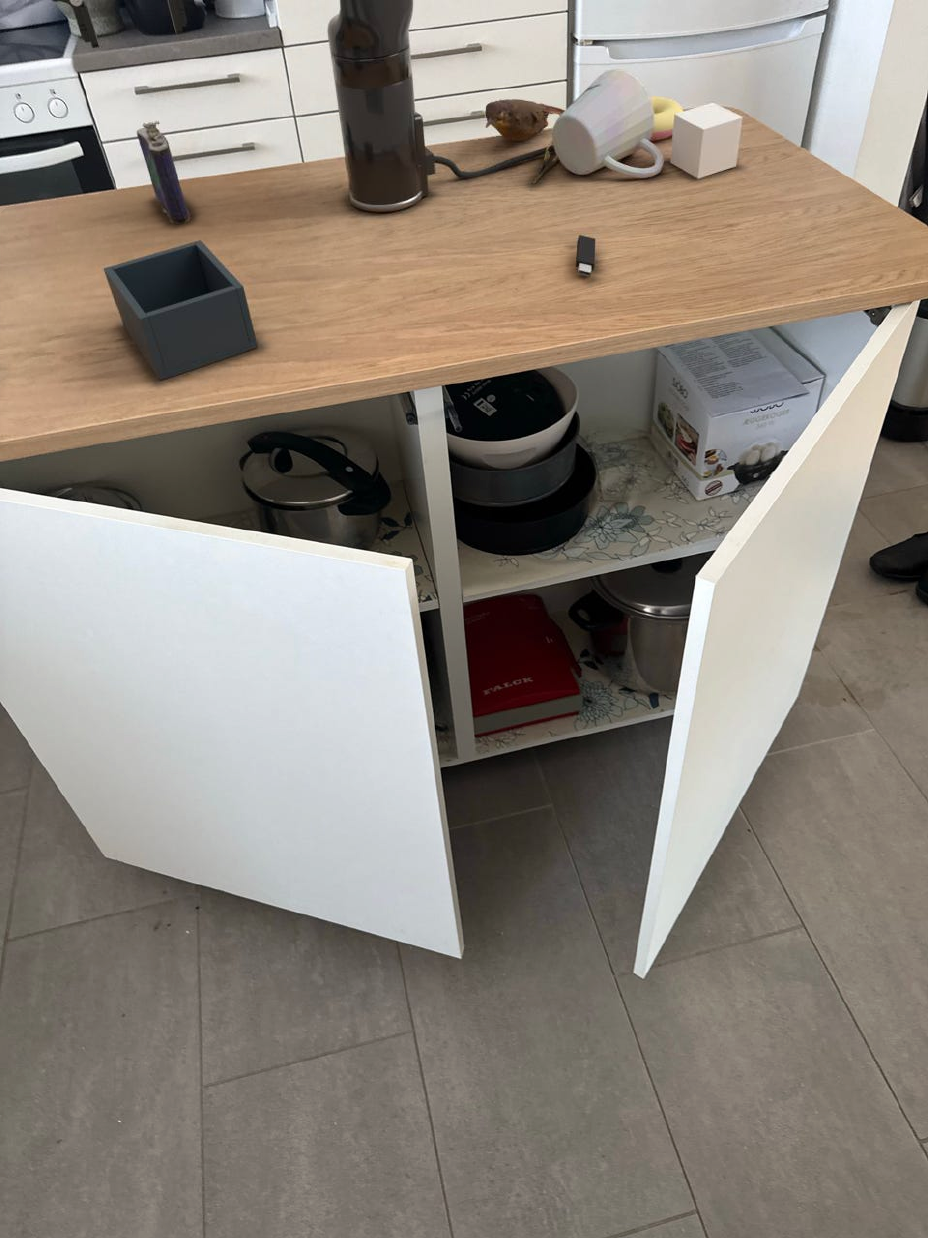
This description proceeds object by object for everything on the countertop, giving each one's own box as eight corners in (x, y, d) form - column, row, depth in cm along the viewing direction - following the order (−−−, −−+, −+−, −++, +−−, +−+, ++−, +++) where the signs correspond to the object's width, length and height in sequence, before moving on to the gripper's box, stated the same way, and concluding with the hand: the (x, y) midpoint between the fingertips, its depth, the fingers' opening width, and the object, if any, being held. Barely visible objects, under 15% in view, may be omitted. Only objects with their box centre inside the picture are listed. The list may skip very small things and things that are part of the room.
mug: (534, 151, 125) (584, 116, 129) (614, 225, 124) (662, 188, 127) (554, 85, 115) (607, 49, 119) (641, 164, 114) (692, 126, 117)
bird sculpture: (579, 138, 141) (585, 100, 138) (504, 149, 122) (509, 105, 119) (539, 130, 143) (544, 93, 140) (459, 140, 124) (464, 97, 122)
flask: (154, 199, 125) (129, 113, 117) (176, 194, 125) (152, 107, 118) (172, 226, 119) (147, 136, 111) (195, 220, 120) (171, 131, 112)
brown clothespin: (540, 186, 121) (539, 175, 120) (521, 186, 122) (520, 175, 121) (570, 149, 128) (569, 138, 127) (552, 149, 129) (551, 138, 128)
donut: (689, 141, 133) (634, 118, 137) (700, 106, 130) (643, 84, 133) (654, 154, 127) (598, 130, 130) (665, 117, 124) (606, 94, 127)
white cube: (674, 113, 119) (669, 162, 123) (703, 128, 115) (697, 178, 120) (713, 102, 121) (707, 150, 125) (743, 116, 117) (736, 166, 121)
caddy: (216, 298, 105) (200, 239, 100) (258, 347, 98) (243, 286, 93) (124, 327, 102) (103, 268, 97) (160, 380, 94) (139, 319, 89)
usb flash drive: (577, 266, 103) (574, 275, 104) (594, 270, 103) (592, 279, 104) (579, 234, 108) (576, 242, 109) (595, 238, 108) (593, 246, 109)
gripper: (157, -179, 89) (202, 19, 101) (1, -161, 86) (66, 39, 98) (164, -168, 84) (211, 38, 96) (-1, -148, 81) (67, 61, 93)
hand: (137, 38), depth 97 cm, fingers open, 8 cm apart
